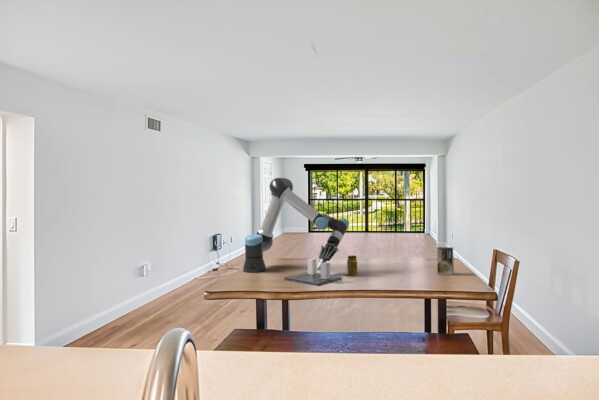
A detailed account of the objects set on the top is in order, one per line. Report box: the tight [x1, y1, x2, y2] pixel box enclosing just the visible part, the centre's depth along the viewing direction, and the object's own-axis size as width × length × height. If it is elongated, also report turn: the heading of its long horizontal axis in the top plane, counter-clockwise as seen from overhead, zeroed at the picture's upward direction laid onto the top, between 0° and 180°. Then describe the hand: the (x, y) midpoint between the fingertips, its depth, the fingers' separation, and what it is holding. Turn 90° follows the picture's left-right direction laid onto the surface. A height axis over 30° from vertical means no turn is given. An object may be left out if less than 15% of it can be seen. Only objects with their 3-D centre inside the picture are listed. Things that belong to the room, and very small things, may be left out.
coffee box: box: [436, 246, 455, 276], centre depth 263 cm, size 9×6×16 cm
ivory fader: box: [307, 258, 318, 275], centre depth 262 cm, size 4×4×9 cm
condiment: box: [342, 255, 361, 278], centre depth 264 cm, size 7×8×12 cm
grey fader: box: [320, 261, 331, 279], centre depth 248 cm, size 4×4×9 cm
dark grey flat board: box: [283, 271, 343, 287], centre depth 254 cm, size 26×22×2 cm
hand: (318, 268), depth 265 cm, fingers closed
